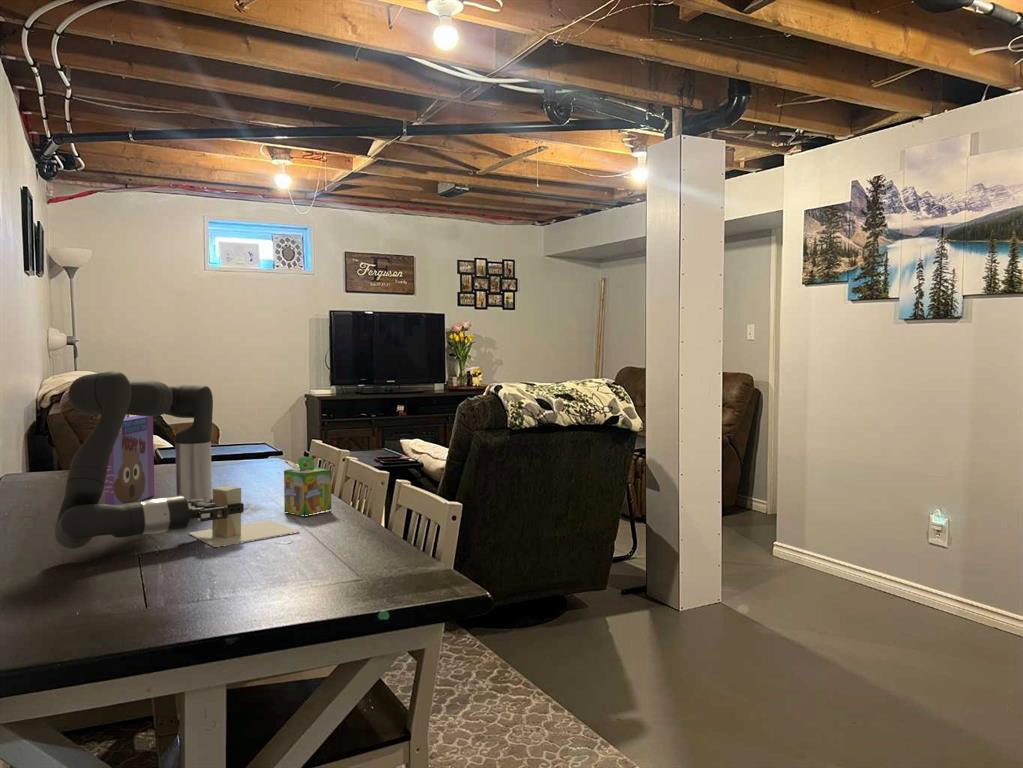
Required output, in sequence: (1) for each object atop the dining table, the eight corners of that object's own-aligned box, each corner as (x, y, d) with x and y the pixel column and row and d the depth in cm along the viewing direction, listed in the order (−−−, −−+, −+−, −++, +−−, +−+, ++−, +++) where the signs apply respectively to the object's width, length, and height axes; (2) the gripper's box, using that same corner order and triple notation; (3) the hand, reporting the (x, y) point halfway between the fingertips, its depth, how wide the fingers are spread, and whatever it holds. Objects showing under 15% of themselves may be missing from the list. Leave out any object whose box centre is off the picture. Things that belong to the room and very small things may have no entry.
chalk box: (304, 518, 191) (304, 461, 191) (283, 513, 197) (282, 457, 196) (333, 512, 199) (332, 457, 198) (311, 507, 204) (311, 454, 204)
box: (211, 535, 171) (210, 488, 171) (226, 531, 175) (226, 485, 175) (227, 538, 169) (226, 490, 168) (242, 534, 173) (241, 487, 172)
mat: (188, 534, 174) (188, 532, 174) (270, 521, 187) (270, 519, 187) (214, 548, 162) (214, 546, 162) (299, 533, 176) (299, 531, 176)
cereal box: (122, 508, 202) (120, 420, 201) (105, 508, 202) (103, 420, 201) (154, 495, 219) (152, 415, 218) (138, 495, 219) (136, 415, 218)
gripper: (173, 503, 157) (248, 493, 168) (151, 493, 167) (223, 484, 178) (173, 538, 157) (249, 526, 168) (152, 526, 168) (224, 515, 179)
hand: (235, 504), depth 173 cm, fingers open, 7 cm apart
